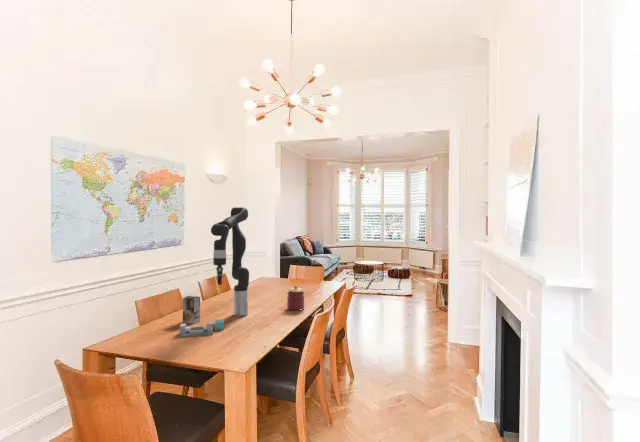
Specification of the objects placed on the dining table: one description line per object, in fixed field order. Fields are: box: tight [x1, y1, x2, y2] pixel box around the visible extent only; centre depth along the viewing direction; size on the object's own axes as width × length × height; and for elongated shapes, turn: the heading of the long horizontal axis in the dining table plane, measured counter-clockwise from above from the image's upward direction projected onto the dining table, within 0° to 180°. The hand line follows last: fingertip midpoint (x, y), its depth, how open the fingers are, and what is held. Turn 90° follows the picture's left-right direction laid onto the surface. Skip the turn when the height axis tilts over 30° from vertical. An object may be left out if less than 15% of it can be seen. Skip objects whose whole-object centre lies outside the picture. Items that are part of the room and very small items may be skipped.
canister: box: [286, 285, 305, 311], centre depth 255 cm, size 13×13×18 cm
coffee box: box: [182, 295, 201, 324], centre depth 221 cm, size 9×6×16 cm
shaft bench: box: [179, 320, 214, 339], centre depth 200 cm, size 18×12×5 cm, turn 108°
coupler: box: [214, 318, 225, 331], centre depth 208 cm, size 5×5×5 cm
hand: (219, 283), depth 208 cm, fingers open, 8 cm apart
